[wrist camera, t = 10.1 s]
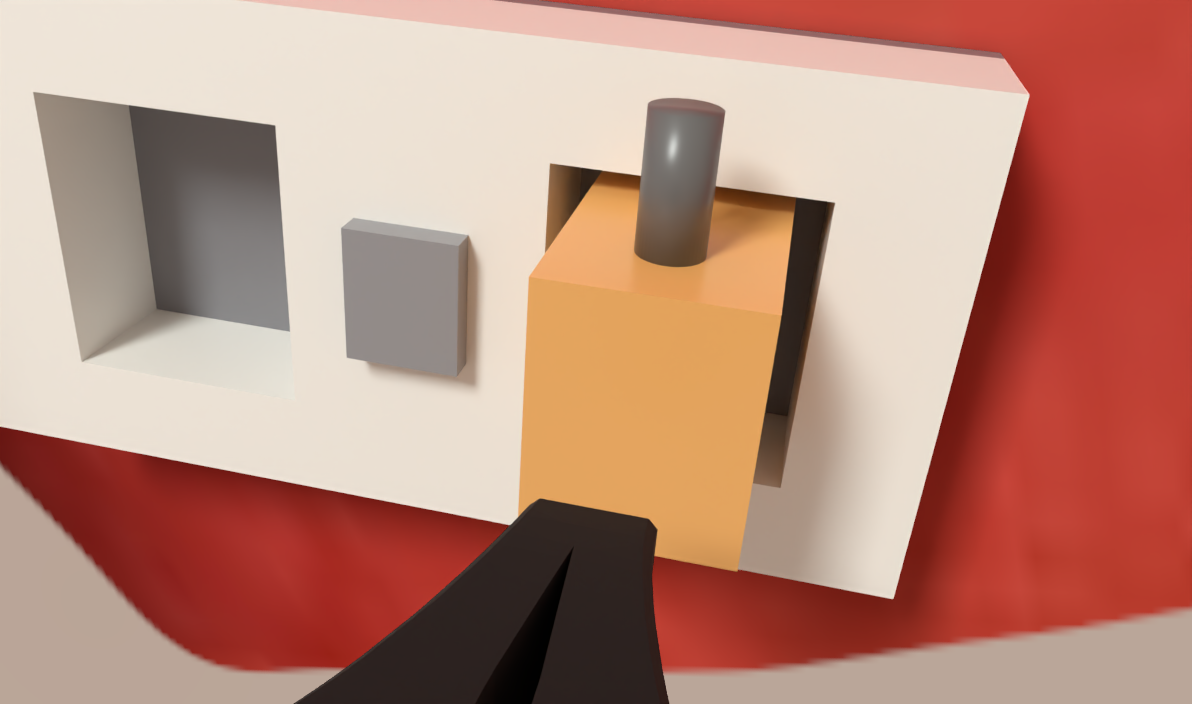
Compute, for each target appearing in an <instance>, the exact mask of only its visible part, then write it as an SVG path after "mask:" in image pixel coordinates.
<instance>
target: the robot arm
mask: <svg viewBox="0 0 1192 704" xmlns="http://www.w3.org/2000/svg"><path fill="white" fill-rule="evenodd" d="M657 531H658V529H657V528H656V527H655V526H654V524H653V523H652V522H651V521H650V519H648V518H642V517H637V516H632V515H626V514H621V513H616V512H610V511H605V510H600V509H594V508H589V507H584V506H579V505H573V504H568V503H563V502H557V501H552V500H547V499H541V498H540V499H538V500H536V501H535V502H533V503H532V504H530V505H529V506H528V507H527V508H526V509H525V510H524V511H523V512H522V513H521V514H520V516H519V517H518V518H517V519H516V520H515V521H514V522H513V523H512V524H511V525H510V526H509V527H508V528H507V529H506V530H505V531H504V532H503V533H502V534H501V535H500V536H499V537H498V538H497V539H496V540H495V541H494V542H493V543H492V544H491V545H490V546H489V547H488V548H487V549H486V550H485V551H484V552H483V553H482V554H481V555H480V556H479V557H477V558H476V559H475V560H474V561H473V562H472V563H471V564H470V565H469V566H468V567H467V568H466V569H465V570H464V571H463V572H461V573H460V574H459V575H458V576H457V577H456V578H455V579H454V580H453V581H451V582H450V583H449V584H448V585H447V586H446V587H445V588H444V589H442V590H441V591H440V592H439V593H438V594H437V595H436V596H435V597H434V598H432V599H431V600H430V601H429V602H428V603H427V604H426V605H425V606H423V607H422V608H421V609H420V610H419V611H417V612H416V613H415V614H414V615H413V616H411V617H410V618H409V619H408V620H406V621H405V622H404V623H403V624H401V625H400V626H399V627H398V628H396V629H395V630H394V631H393V632H391V633H390V634H389V635H388V636H386V637H385V638H384V639H383V640H381V641H380V642H379V643H377V644H376V645H375V646H374V647H372V648H371V649H370V650H369V651H367V652H366V653H365V654H364V655H362V656H361V657H360V658H358V659H357V660H356V661H354V662H353V663H352V664H350V665H349V666H347V667H346V668H345V669H343V670H342V671H341V672H339V673H338V674H336V675H335V676H334V677H332V678H331V679H329V680H328V681H327V682H325V683H324V684H322V685H321V686H319V687H318V688H317V689H315V690H314V691H312V692H311V693H309V694H307V695H306V696H304V697H303V698H302V699H300V700H298V701H297V702H296V703H294V704H669V700H668V696H667V691H666V686H665V680H664V675H663V670H662V664H661V657H660V651H659V644H658V637H657V631H656V624H655V614H654V604H653V586H652V571H653V563H654V555H655V547H656V539H657Z"/></svg>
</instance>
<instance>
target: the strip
mask: <svg viewBox="0 0 1192 704" xmlns="http://www.w3.org/2000/svg"><path fill="white" fill-rule="evenodd" d="M662 98H686V99H695V100H701V101H705V102H709V103H713V104H716V105H718V106H720V107H722V108H723V109H724V110H725V119H724V127H723V134H722V142H721V150H720V157H719V165H718V173H717V180H716V186H718V187H726V188H733V189H740V190H747V191H755V192H762V193H769V194H776V195H784V196H791V197H796V202H795V210H794V218H793V227H792V235H791V243H790V251H789V259H788V267H787V275H786V283H785V292H784V300H783V308H782V316H781V322H780V327H779V333H778V339H777V345H776V351H775V356H774V362H773V368H772V374H771V380H770V385H769V391H768V397H767V403H766V409H765V414H764V420H763V426H762V432H761V438H760V443H759V449H758V455H757V461H756V467H755V472H754V478H753V484H752V490H751V496H750V501H749V507H748V513H747V519H746V525H745V530H744V536H743V542H742V548H741V554H740V559H739V565H738V569H739V570H745V571H750V572H755V573H760V574H765V575H771V576H776V577H781V578H786V579H791V580H796V581H802V582H807V583H812V584H817V585H822V586H827V587H833V588H838V589H843V590H848V591H853V592H858V593H864V594H869V595H874V596H879V597H884V598H889V599H894V595H895V591H896V587H897V584H898V580H899V576H900V573H901V569H902V565H903V562H904V558H905V554H906V550H907V547H908V543H909V539H910V536H911V532H912V528H913V525H914V521H915V517H916V513H917V510H918V506H919V502H920V499H921V495H922V491H923V487H924V484H925V480H926V476H927V473H928V469H929V465H930V462H931V458H932V454H933V450H934V447H935V443H936V439H937V436H938V432H939V428H940V425H941V421H942V417H943V413H944V410H945V406H946V402H947V399H948V395H949V391H950V388H951V384H952V380H953V376H954V373H955V369H956V365H957V362H958V358H959V354H960V351H961V347H962V343H963V339H964V336H965V332H966V328H967V325H968V321H969V317H970V313H971V310H972V306H973V302H974V299H975V295H976V291H977V288H978V284H979V280H980V276H981V273H982V269H983V265H984V262H985V258H986V254H987V251H988V247H989V243H990V239H991V236H992V232H993V228H994V225H995V221H996V217H997V214H998V210H999V206H1000V202H1001V199H1002V195H1003V191H1004V188H1005V184H1006V180H1007V177H1008V173H1009V169H1010V165H1011V162H1012V158H1013V154H1014V151H1015V147H1016V143H1017V140H1018V136H1019V132H1020V128H1021V125H1022V121H1023V117H1024V114H1025V110H1026V106H1027V102H1028V99H1029V93H1028V92H1027V90H1026V89H1025V88H1024V86H1023V85H1022V83H1021V82H1020V80H1019V79H1018V77H1017V76H1016V75H1015V73H1014V72H1013V70H1012V69H1011V67H1010V66H1009V65H1008V63H1007V62H1006V60H1005V59H1004V57H1003V56H1002V55H1001V53H996V52H988V51H979V50H970V49H961V48H953V47H944V46H935V45H926V44H917V43H909V42H900V41H891V40H882V39H874V38H865V37H856V36H847V35H839V34H830V33H821V32H812V31H803V30H795V29H786V28H777V27H768V26H760V25H751V24H742V23H733V22H725V21H716V20H707V19H698V18H689V17H681V16H672V15H663V14H654V13H646V12H637V11H628V10H619V9H610V8H602V7H593V6H584V5H575V4H567V3H558V2H549V1H540V0H0V427H5V428H10V429H16V430H21V431H26V432H31V433H36V434H41V435H47V436H52V437H57V438H62V439H67V440H73V441H78V442H83V443H88V444H93V445H98V446H104V447H109V448H114V449H119V450H124V451H129V452H135V453H140V454H145V455H150V456H155V457H160V458H166V459H171V460H176V461H181V462H186V463H191V464H197V465H202V466H207V467H212V468H217V469H222V470H228V471H233V472H238V473H243V474H248V475H253V476H259V477H264V478H269V479H274V480H279V481H284V482H290V483H295V484H300V485H305V486H310V487H316V488H321V489H326V490H331V491H336V492H341V493H347V494H352V495H357V496H362V497H367V498H372V499H378V500H383V501H388V502H393V503H398V504H403V505H409V506H414V507H419V508H424V509H429V510H434V511H440V512H445V513H450V514H455V515H460V516H465V517H471V518H476V519H481V520H486V521H491V522H496V523H502V524H507V525H511V524H512V523H513V522H514V521H515V520H516V519H517V518H518V506H519V483H520V461H521V439H522V417H523V394H524V372H525V350H526V327H527V305H528V283H529V276H530V274H531V273H532V272H533V270H534V269H535V267H536V266H537V264H538V263H539V261H540V260H541V259H542V257H543V256H544V254H545V253H546V251H547V250H548V248H549V247H550V246H551V244H552V243H553V241H554V240H555V238H556V237H557V236H558V234H559V233H560V231H561V230H562V228H563V227H564V225H565V224H566V223H567V221H568V220H569V218H570V217H571V215H572V214H573V212H574V211H575V210H576V208H577V207H578V205H579V204H580V202H581V201H582V199H583V198H584V197H585V195H586V194H587V192H588V191H589V189H590V188H591V186H592V185H593V184H594V182H595V181H596V179H597V178H598V176H599V175H600V174H601V172H602V171H610V172H617V173H624V174H632V175H639V176H641V170H642V159H643V149H644V138H645V128H646V117H647V107H648V103H649V102H650V101H653V100H656V99H662Z"/></svg>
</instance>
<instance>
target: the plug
mask: <svg viewBox="0 0 1192 704" xmlns="http://www.w3.org/2000/svg"><path fill="white" fill-rule="evenodd" d="M724 119H725V110H724V109H723V108H722V107H720V106H718V105H716V104H713V103H709V102H705V101H701V100H695V99H686V98H662V99H656V100H653V101H650V102H649V103H648V107H647V117H646V128H645V138H644V149H643V159H642V170H641V176H639V175H632V174H624V173H617V172H610V171H602V172H601V174H600V175H599V176H598V178H597V179H596V181H595V182H594V184H593V185H592V186H591V188H590V189H589V191H588V192H587V194H586V195H585V197H584V198H583V199H582V201H581V202H580V204H579V205H578V207H577V208H576V210H575V211H574V212H573V214H572V215H571V217H570V218H569V220H568V221H567V223H566V224H565V225H564V227H563V228H562V230H561V231H560V233H559V234H558V236H557V237H556V238H555V240H554V241H553V243H552V244H551V246H550V247H549V248H548V250H547V251H546V253H545V254H544V256H543V257H542V259H541V260H540V261H539V263H538V264H537V266H536V267H535V269H534V270H533V272H532V273H531V274H530V276H529V283H528V305H527V327H526V350H525V372H524V394H523V417H522V439H521V461H520V483H519V506H518V517H519V516H520V514H521V513H522V512H523V511H524V510H525V509H526V508H527V507H528V506H529V505H530V504H532V503H533V502H535V501H536V500H538V499H540V498H541V499H547V500H552V501H557V502H563V503H568V504H573V505H579V506H584V507H589V508H594V509H600V510H605V511H610V512H616V513H621V514H626V515H632V516H637V517H642V518H648V519H650V521H651V522H652V523H653V524H654V526H655V527H656V528H657V529H658V531H657V539H656V547H655V555H654V556H658V557H663V558H668V559H673V560H679V561H684V562H689V563H694V564H699V565H705V566H710V567H715V568H720V569H726V570H731V571H736V572H737V571H738V565H739V559H740V554H741V548H742V542H743V536H744V530H745V525H746V519H747V513H748V507H749V501H750V496H751V490H752V484H753V478H754V472H755V467H756V461H757V455H758V449H759V443H760V438H761V432H762V426H763V420H764V414H765V409H766V403H767V397H768V391H769V385H770V380H771V374H772V368H773V362H774V356H775V351H776V345H777V339H778V333H779V327H780V322H781V316H782V308H783V300H784V292H785V283H786V275H787V267H788V259H789V251H790V243H791V235H792V227H793V218H794V210H795V202H796V197H791V196H784V195H776V194H769V193H762V192H755V191H747V190H740V189H733V188H726V187H718V186H716V180H717V173H718V165H719V157H720V150H721V142H722V134H723V127H724Z"/></svg>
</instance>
